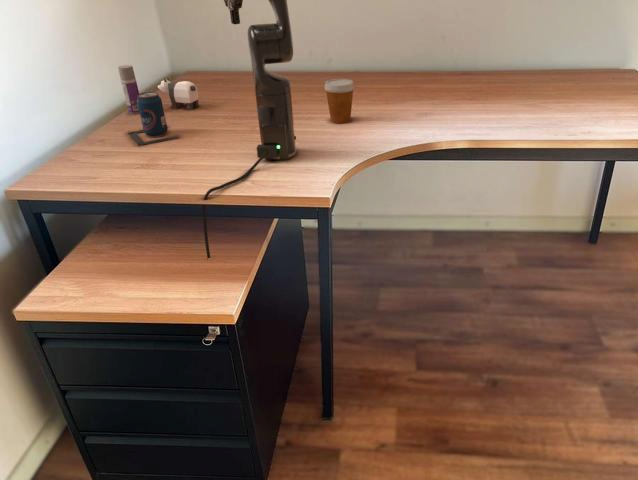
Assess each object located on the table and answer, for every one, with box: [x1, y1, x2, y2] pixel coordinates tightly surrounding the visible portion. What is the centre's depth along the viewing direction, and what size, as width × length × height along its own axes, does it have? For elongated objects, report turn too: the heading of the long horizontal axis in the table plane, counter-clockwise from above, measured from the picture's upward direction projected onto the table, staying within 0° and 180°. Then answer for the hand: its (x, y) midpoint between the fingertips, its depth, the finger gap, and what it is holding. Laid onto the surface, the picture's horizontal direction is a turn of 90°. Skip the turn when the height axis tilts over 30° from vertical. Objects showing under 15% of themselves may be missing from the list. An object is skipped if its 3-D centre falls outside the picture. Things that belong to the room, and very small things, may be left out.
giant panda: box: [157, 77, 199, 111], centre depth 189 cm, size 15×6×10 cm, turn 72°
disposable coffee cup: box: [323, 78, 355, 124], centre depth 173 cm, size 10×10×12 cm
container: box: [117, 64, 140, 115], centre depth 183 cm, size 5×5×15 cm
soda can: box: [137, 91, 168, 138], centre depth 164 cm, size 7×7×12 cm
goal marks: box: [127, 126, 180, 147], centre depth 166 cm, size 12×14×1 cm
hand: (235, 23), depth 161 cm, fingers closed
